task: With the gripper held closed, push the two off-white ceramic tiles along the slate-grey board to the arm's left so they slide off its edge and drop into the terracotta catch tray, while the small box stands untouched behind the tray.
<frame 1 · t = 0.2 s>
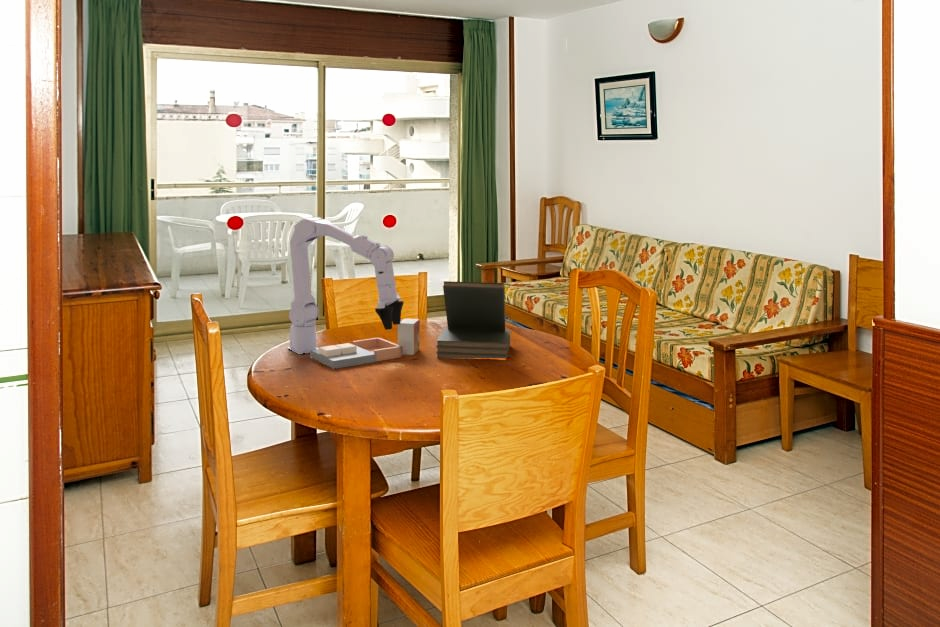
hand: (392, 326, 253), 10 cm above the table, tool pointing down, fingers open, 7 cm apart
catch tray: (377, 354, 260), on the table
tile 1: (330, 354, 249), point 2 cm above the table, touching board
open dark laptop: (474, 353, 265), on the table
small box: (408, 352, 264), on the table
tile 2: (345, 351, 253), point 2 cm above the table, touching board
board: (343, 359, 253), on the table
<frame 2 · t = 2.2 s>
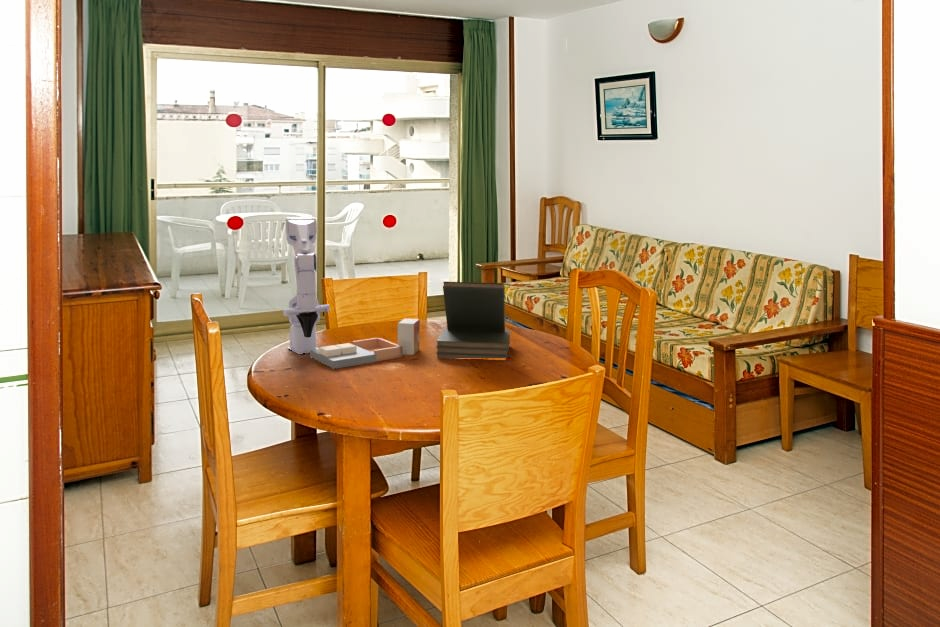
hand: (307, 336, 244), 9 cm above the table, tool pointing down, fingers closed
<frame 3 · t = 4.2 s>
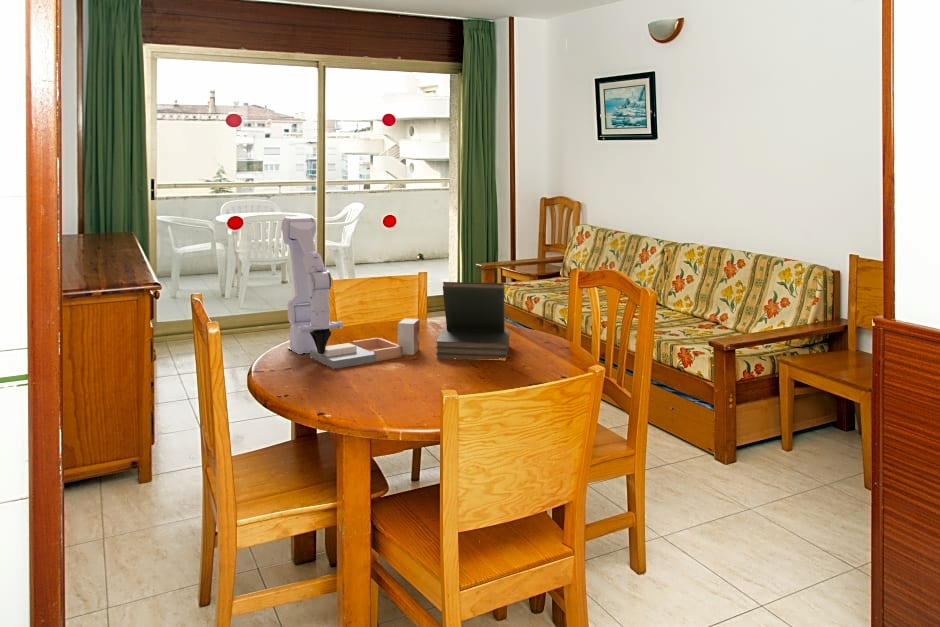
hand: (320, 353, 247), 3 cm above the table, tool pointing down, fingers closed
tile 1: (331, 353, 250), point 3 cm above the table, touching board, gripper
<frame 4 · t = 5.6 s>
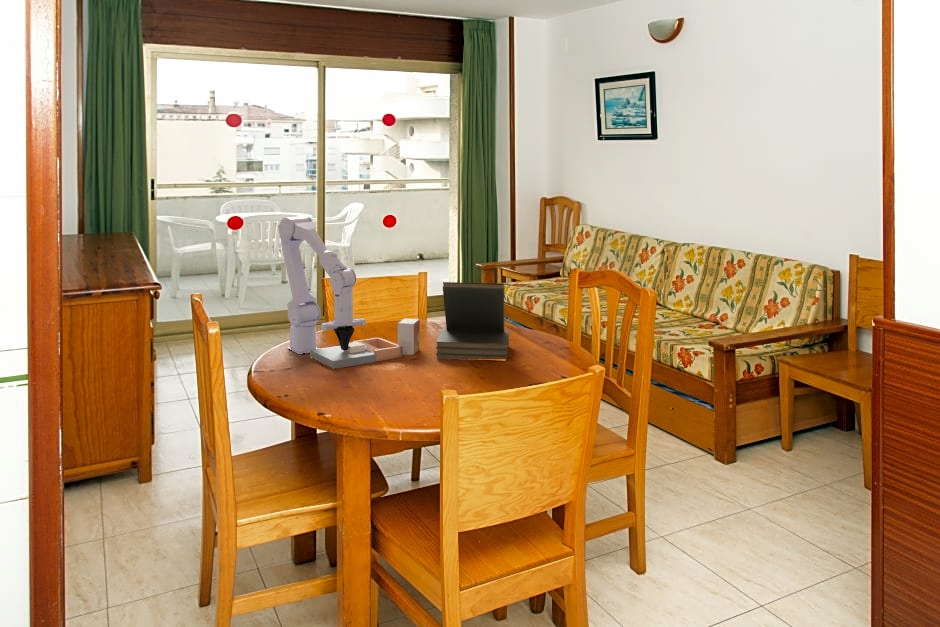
hand: (344, 349, 252), 3 cm above the table, tool pointing down, fingers closed
tile 1: (354, 350, 254), point 3 cm above the table, touching board, gripper
tile 2: (367, 350, 257), point 2 cm above the table, tilted 29°, touching catch tray
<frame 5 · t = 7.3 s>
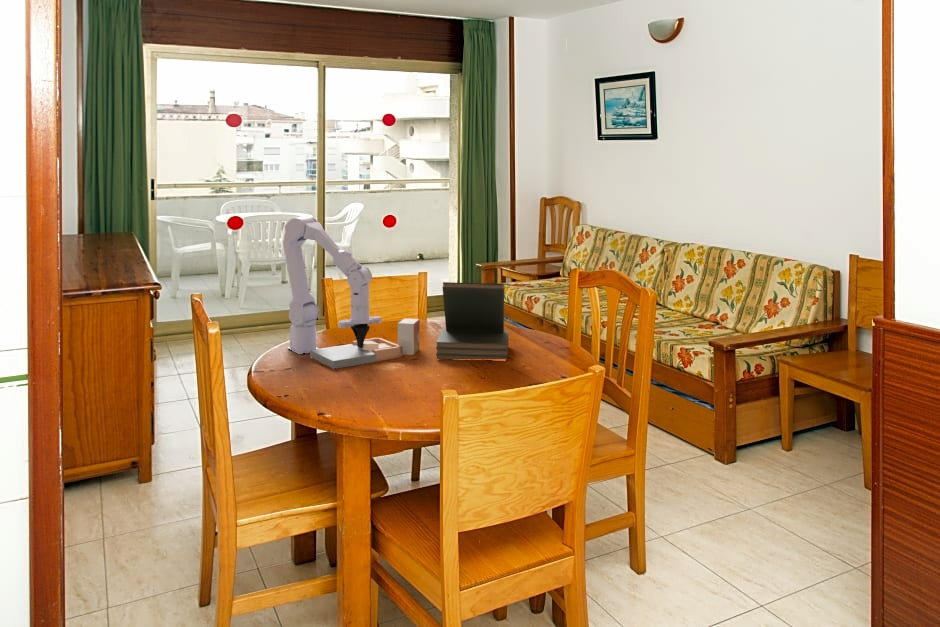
hand: (360, 347, 256), 3 cm above the table, tool pointing down, fingers closed, pressing on tile 1
tile 1: (367, 348, 257), point 2 cm above the table, tilted 6°, touching tile 2, gripper
tile 2: (381, 351, 260), point 1 cm above the table, touching catch tray, tile 1
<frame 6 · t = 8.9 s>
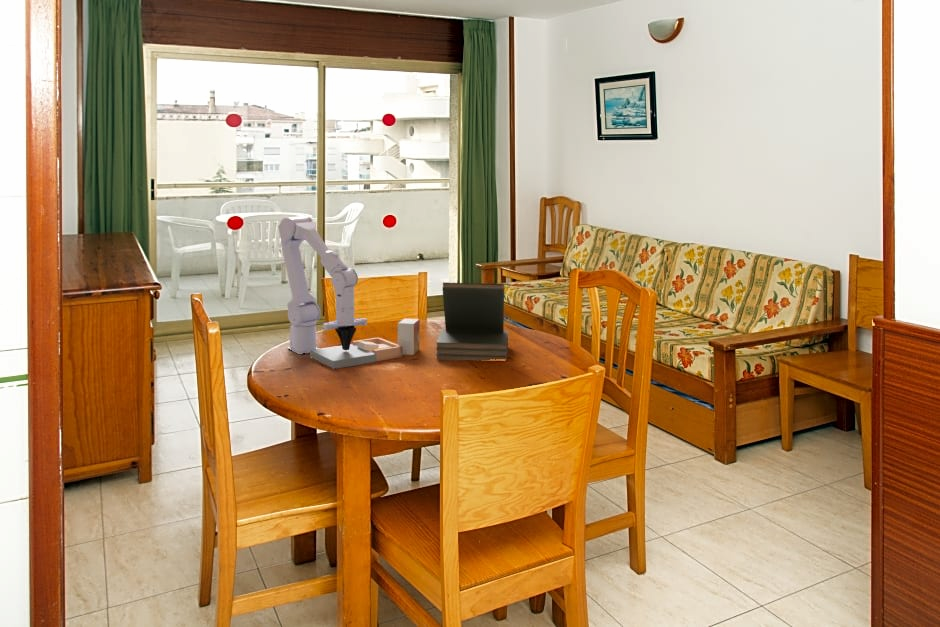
hand: (345, 349, 253), 3 cm above the table, tool pointing down, fingers closed
tile 1: (367, 349, 257), point 2 cm above the table, tilted 11°, touching board, tile 2
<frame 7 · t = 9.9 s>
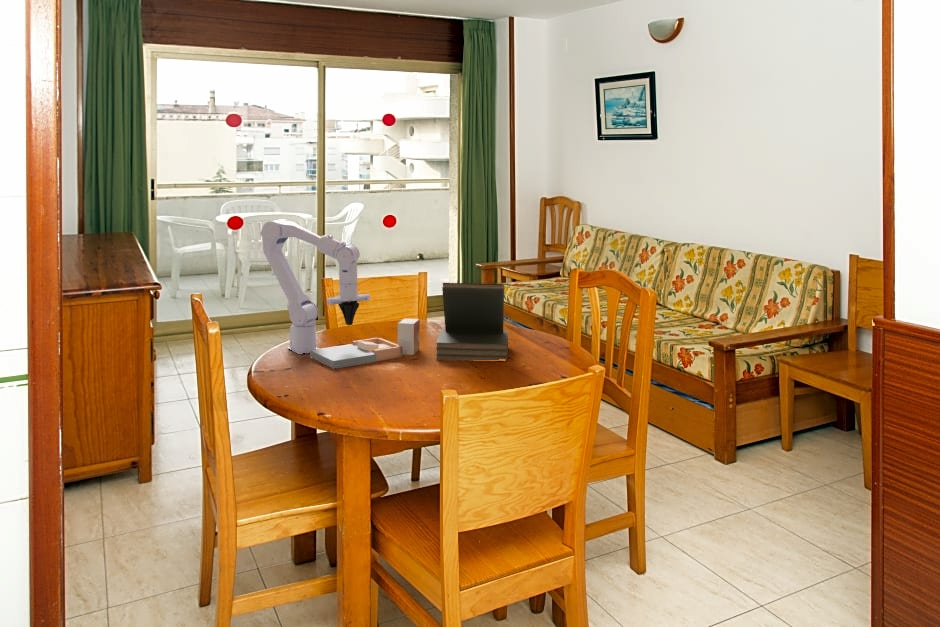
hand: (349, 324, 257), 10 cm above the table, tool pointing down, fingers closed
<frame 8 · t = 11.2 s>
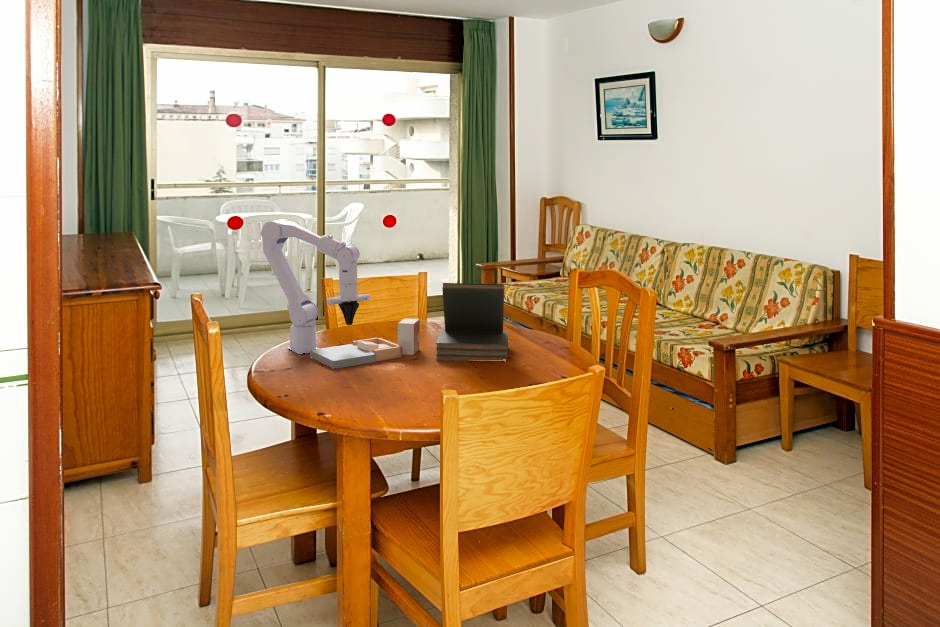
hand: (349, 324, 257), 10 cm above the table, tool pointing down, fingers closed
at the end: tile 1 inside the target area on the catch tray (3.5 cm from its centre), point 2.2 cm above the catch tray's base; tile 2 inside the target area on the catch tray (1.8 cm from its centre), point 0.6 cm above the catch tray's base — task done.
